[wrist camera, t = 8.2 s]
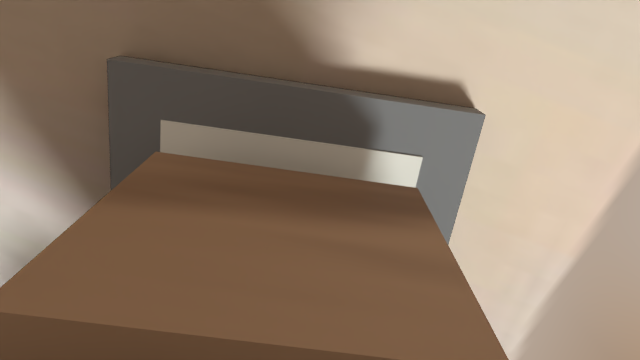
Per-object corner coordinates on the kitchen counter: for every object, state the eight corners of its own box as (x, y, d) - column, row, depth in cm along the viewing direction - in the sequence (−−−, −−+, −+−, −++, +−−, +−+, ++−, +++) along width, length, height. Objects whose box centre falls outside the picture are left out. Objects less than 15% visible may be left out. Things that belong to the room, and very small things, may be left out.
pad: (120, 56, 12) (106, 59, 11) (475, 108, 13) (486, 115, 12) (125, 343, 16) (115, 361, 15) (401, 375, 16) (405, 394, 15)
